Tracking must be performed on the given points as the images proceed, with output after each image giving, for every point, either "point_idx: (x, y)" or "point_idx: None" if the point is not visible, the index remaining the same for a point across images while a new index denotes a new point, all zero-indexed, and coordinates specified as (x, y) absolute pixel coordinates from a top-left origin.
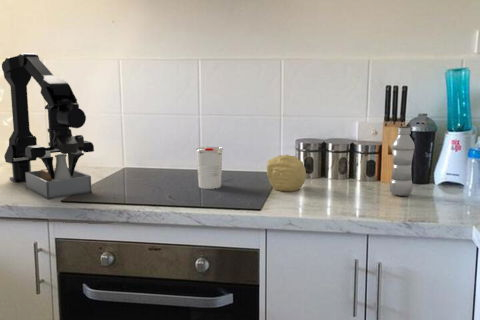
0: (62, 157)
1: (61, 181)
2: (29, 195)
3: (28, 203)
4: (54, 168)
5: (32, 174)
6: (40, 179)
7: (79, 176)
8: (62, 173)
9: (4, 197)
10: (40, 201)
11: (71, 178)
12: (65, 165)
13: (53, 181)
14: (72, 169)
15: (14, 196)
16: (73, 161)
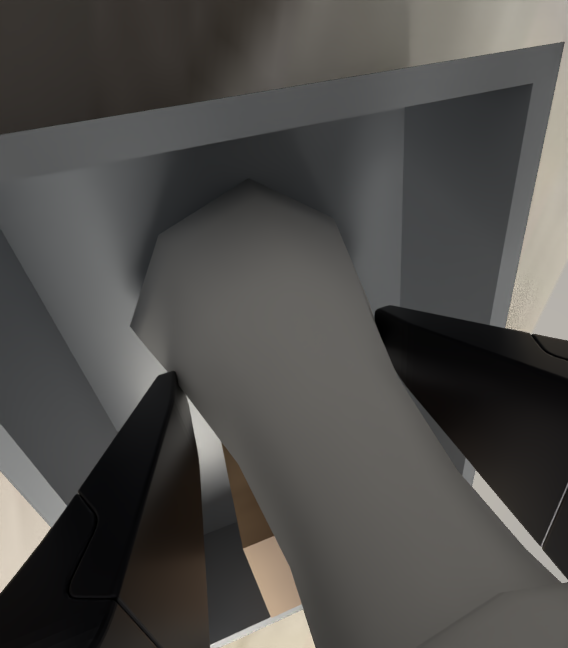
0: (502, 600)
1: (357, 78)
2: None
3: (560, 14)
4: (293, 598)
5: (462, 475)
6: (515, 269)
7: (66, 450)
8: (320, 305)
9: (551, 292)
10: (476, 29)
11: (197, 117)
12: (297, 437)
13: (475, 58)
14: (151, 425)
15: (512, 295)
16: (105, 570)
